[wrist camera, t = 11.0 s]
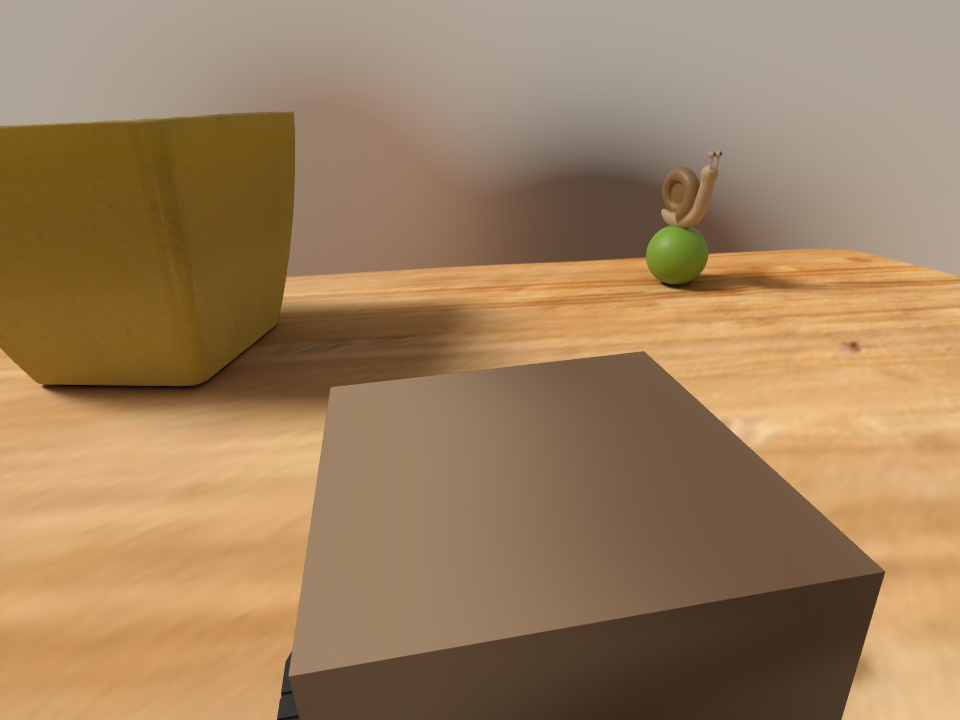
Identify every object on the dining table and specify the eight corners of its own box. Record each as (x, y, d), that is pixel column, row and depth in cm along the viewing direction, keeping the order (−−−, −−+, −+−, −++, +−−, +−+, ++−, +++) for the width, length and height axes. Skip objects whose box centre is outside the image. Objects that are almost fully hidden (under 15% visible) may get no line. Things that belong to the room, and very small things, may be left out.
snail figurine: (676, 298, 52) (691, 153, 47) (632, 280, 57) (641, 148, 52) (725, 289, 54) (744, 148, 49) (678, 272, 59) (690, 144, 54)
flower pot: (136, 310, 56) (78, 118, 49) (330, 309, 54) (298, 107, 47) (-51, 409, 39) (-180, 134, 32) (223, 414, 36) (147, 118, 29)
